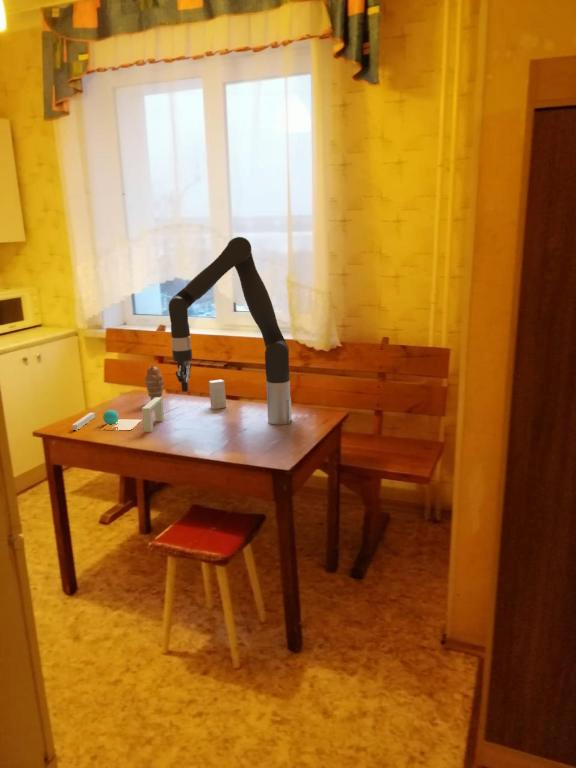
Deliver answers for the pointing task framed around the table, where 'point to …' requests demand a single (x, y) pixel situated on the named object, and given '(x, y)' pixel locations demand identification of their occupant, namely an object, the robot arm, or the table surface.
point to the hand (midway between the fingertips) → (185, 391)
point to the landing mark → (126, 424)
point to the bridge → (147, 413)
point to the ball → (110, 417)
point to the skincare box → (217, 394)
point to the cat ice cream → (154, 382)
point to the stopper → (83, 421)
